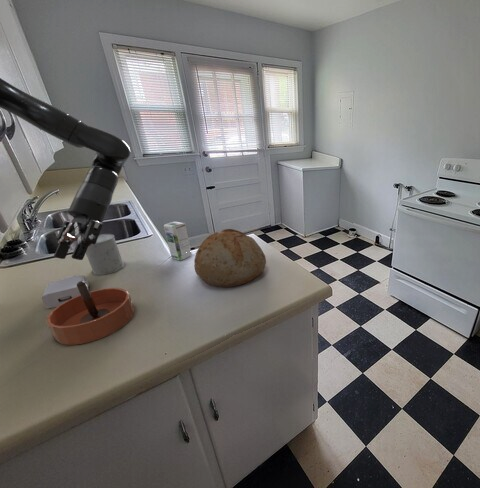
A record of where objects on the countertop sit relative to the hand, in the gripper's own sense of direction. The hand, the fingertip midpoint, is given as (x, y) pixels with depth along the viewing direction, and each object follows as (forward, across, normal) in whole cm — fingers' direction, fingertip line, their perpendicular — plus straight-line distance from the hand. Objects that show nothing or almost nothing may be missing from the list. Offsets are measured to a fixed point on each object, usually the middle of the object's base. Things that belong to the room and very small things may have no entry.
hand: (67, 258), depth 70 cm
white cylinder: (-2, -27, +25) cm, 36 cm away
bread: (-7, +18, +40) cm, 45 cm away
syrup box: (-12, -9, +40) cm, 42 cm away
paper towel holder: (+14, +2, +11) cm, 18 cm away
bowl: (+15, +2, +11) cm, 19 cm away
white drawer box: (+8, -21, +14) cm, 27 cm away
